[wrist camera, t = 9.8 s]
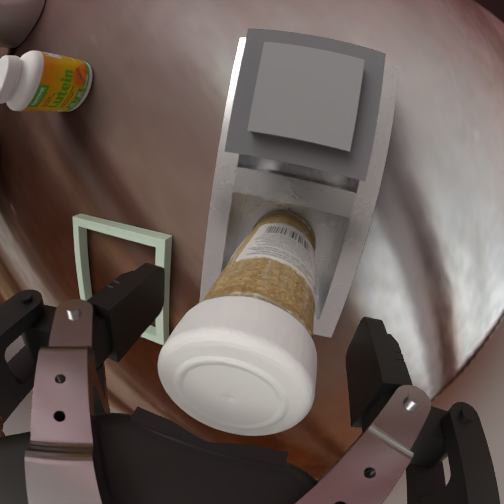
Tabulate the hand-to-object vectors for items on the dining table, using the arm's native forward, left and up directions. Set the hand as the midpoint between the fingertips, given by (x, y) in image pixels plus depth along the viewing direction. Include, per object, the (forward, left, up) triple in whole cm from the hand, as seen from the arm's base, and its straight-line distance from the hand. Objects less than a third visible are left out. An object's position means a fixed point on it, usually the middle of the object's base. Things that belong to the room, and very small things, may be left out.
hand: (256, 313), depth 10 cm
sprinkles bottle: (0, 0, -9) cm, 9 cm away
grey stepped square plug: (0, +8, -10) cm, 13 cm away
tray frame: (-14, -7, -10) cm, 18 cm away
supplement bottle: (-22, +11, -10) cm, 26 cm away
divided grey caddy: (0, +4, -10) cm, 11 cm away
